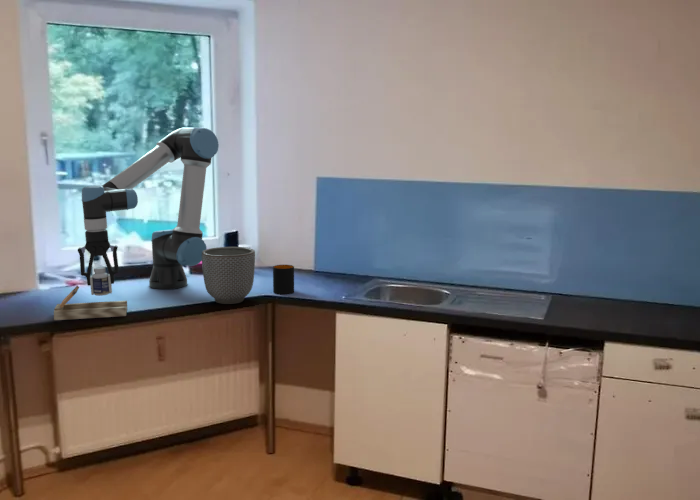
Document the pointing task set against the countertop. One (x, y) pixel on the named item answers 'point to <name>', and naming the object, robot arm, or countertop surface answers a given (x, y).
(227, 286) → the planter
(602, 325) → the countertop surface
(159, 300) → the countertop surface
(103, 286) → the pill bottle
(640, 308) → the countertop surface
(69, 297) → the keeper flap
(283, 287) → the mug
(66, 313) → the wooden tray
